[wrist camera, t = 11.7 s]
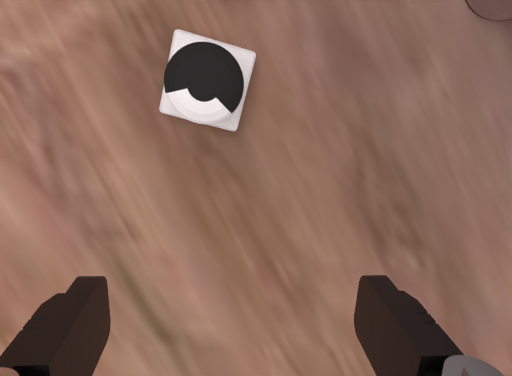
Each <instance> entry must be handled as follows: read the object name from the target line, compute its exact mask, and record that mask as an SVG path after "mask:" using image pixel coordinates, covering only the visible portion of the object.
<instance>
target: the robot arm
mask: <svg viewBox="0 0 512 376" xmlns="http://www.w3.org/2000/svg"><path fill="white" fill-rule="evenodd" d="M467 2H468V4H469V6H470V7H471V8H472V9H473V10H474V11H475V13H477V14H478V15H480V16H481V17H483V18H486V19H489V20H497V21H500V20H506V19H511V18H512V0H467ZM354 326H355V332H356V335H357V337H358V339H359V341H360V343H361V345H362V347H363V349H364V351H365V353H366V355H367V357H368V359H369V361H370V363H371V365H372V367H373V369H374V371H375V373H376V375H377V376H504V375H503V374H502V373H501V372H499V371H498V370H497V369H496V368H494V367H493V366H491V365H490V364H488V363H486V362H484V361H482V360H480V359H477V358H474V357H471V356H466V355H464V354H463V353H462V352H461V351H460V350H459V348H458V347H457V346H456V345H455V344H454V342H453V341H452V340H451V339H450V338H449V337H448V335H447V334H446V333H445V332H444V331H443V329H442V328H441V327H440V326H439V325H438V324H436V322H435V320H434V319H433V318H432V317H431V315H430V314H428V313H427V311H426V309H425V308H424V307H423V306H422V305H421V304H420V302H419V301H418V300H416V299H415V298H413V297H412V296H410V295H409V294H407V293H406V292H404V291H399V290H398V289H397V288H396V287H395V285H394V284H393V283H392V282H391V280H390V279H389V278H388V277H387V276H385V275H372V276H362V277H361V278H360V281H359V287H358V294H357V301H356V307H355V314H354ZM109 332H110V310H109V299H108V288H107V280H106V278H105V277H104V276H79V277H77V278H76V279H75V281H74V282H73V283H72V285H71V286H70V288H69V289H68V290H67V292H66V293H57V294H56V295H54V296H53V297H51V298H50V299H48V300H47V301H46V302H44V303H43V304H41V305H40V307H39V308H38V309H37V311H36V312H35V313H34V314H33V316H32V317H31V319H29V321H28V322H27V323H26V324H25V326H24V327H23V330H21V331H20V332H19V333H18V334H17V336H16V337H15V338H14V340H13V341H12V342H11V343H10V345H9V346H8V347H7V348H6V350H5V351H4V352H3V353H2V355H1V356H0V376H92V375H93V372H94V370H95V368H96V366H97V363H98V361H99V359H100V356H101V354H102V352H103V350H104V347H105V345H106V343H107V340H108V337H109Z"/></svg>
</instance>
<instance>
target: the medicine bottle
mask: <svg viewBox="0 0 512 376" xmlns="http://www.w3.org/2000/svg"><path fill="white" fill-rule="evenodd" d="M255 58H256V54H255V52H253V51H250V50H247V49H243V48H240V47H237V46H233V45H230V44H227V43H223V42H220V41H217V40H213V39H210V38H207V37H203V36H200V35H197V34H193V33H190V32H186V31H183V30H180V29H177V30H175V32H174V35H173V40H172V45H171V50H170V55H169V61H168V64H167V67H166V70H165V74H164V86H163V92H162V97H161V102H160V107H159V110H160V112H162V113H164V114H168V115H172V116H176V117H179V118H183V119H187V120H189V121H191V122H194V123H199V124H206V125H210V126H214V127H218V128H222V129H226V130H229V131H236V130H237V128H238V124H239V121H240V117H241V113H242V109H243V105H244V101H245V97H246V93H247V89H248V86H249V82H250V78H251V74H252V70H253V66H254V62H255Z"/></svg>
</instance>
